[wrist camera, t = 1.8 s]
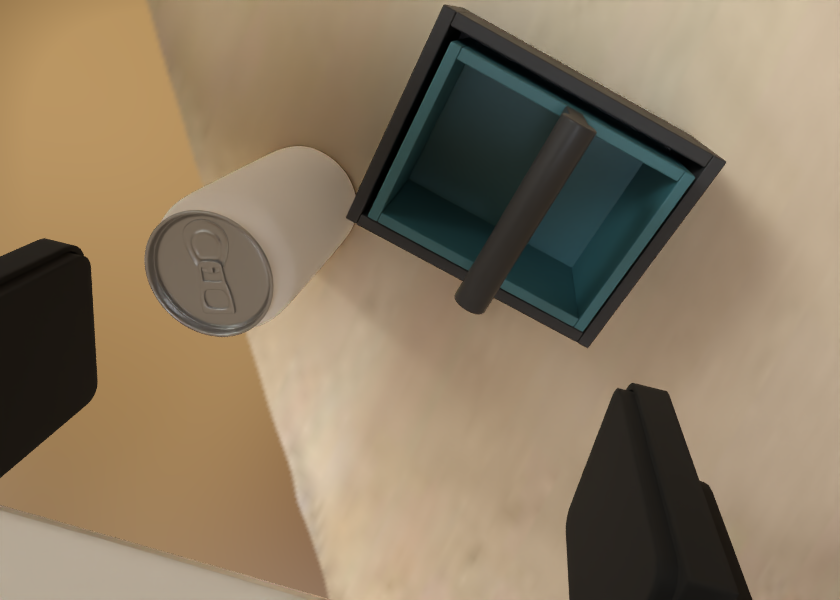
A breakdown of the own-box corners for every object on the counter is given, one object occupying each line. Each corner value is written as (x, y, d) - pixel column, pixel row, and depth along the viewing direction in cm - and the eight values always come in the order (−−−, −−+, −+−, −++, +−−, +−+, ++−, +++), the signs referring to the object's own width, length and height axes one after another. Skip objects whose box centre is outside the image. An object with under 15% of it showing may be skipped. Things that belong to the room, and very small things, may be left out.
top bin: (398, 180, 34) (342, 244, 24) (468, 36, 31) (436, 44, 21) (574, 276, 35) (589, 376, 25) (663, 145, 31) (722, 203, 21)
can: (353, 142, 34) (269, 198, 24) (363, 252, 37) (292, 348, 26) (244, 145, 35) (117, 200, 25) (262, 251, 38) (154, 343, 27)
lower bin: (377, 185, 35) (345, 218, 29) (461, 6, 31) (443, 3, 25) (579, 294, 36) (587, 348, 30) (690, 135, 31) (727, 162, 25)
